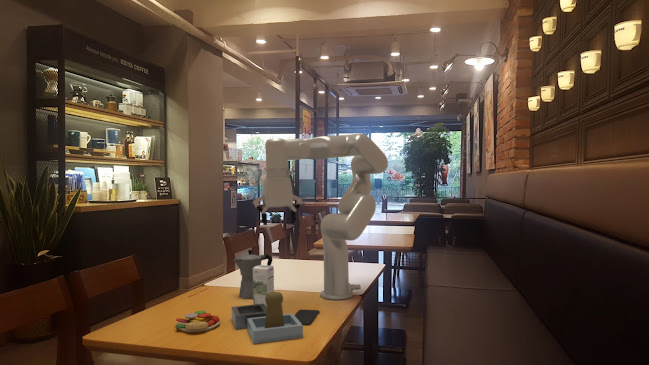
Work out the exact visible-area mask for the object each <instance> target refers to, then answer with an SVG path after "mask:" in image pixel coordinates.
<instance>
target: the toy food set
mask: <svg viewBox="0 0 649 365" xmlns="http://www.w3.org/2000/svg"><path fill="white" fill-rule="evenodd" d="M220 320H221V319H220V317H219V316H218V315H215V314H211V313H209V312H206V311H205V310H197V311H195V312H193V313H187V314H185V315H184V318H176V319H175V321H176V322H177V324H175V327H176V328H177V329H178V330H179V331H181V332H184V333H190V334H191V333H204V332H208V331H211V330H214V329H215V328H217V327H218V326H219V324H220V323H221V321H220Z"/></svg>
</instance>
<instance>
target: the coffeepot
mask: <svg viewBox="0 0 649 365" xmlns="http://www.w3.org/2000/svg"><path fill="white" fill-rule="evenodd" d="M247 252H248V254H245V255H242V256H239V257H235V258H234V259H233V262H234V263H235V264H236V265H237V268H239V271H240V276H241V281H240V287H239V294H238V297H239V298H240V299H243V300H244V299H245V300H253V268H254V267H255V266H258V265H262V261H265V260H267V261H266V262H267V263H266V265H268V266H272V264H273V258H272V257H271V256H270V254H259V255H257V254H253V249H249V250H247Z"/></svg>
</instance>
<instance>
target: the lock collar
mask: <svg viewBox="0 0 649 365" xmlns="http://www.w3.org/2000/svg"><path fill="white" fill-rule="evenodd" d="M266 311H267V304H266V305H264V304H255V305H253V304H248V305H237V306H236V305H235V306H231V322H232V323H233V326H234V329H235V330H242V329H247V318H256V317H265V316H266Z"/></svg>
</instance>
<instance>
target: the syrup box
mask: <svg viewBox="0 0 649 365" xmlns="http://www.w3.org/2000/svg"><path fill="white" fill-rule="evenodd" d="M270 292H275V269H274V265H271V266H268V265H267V264H266V265H265V264H263V265H262V264H261V265H258V266H255V267H254V268H253V299H252V300H253V301H252V302H253V304H252V305H255V304H264V305H266V304H267V303H266V301H265V297H266V295H267V294H268V293H270Z"/></svg>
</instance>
